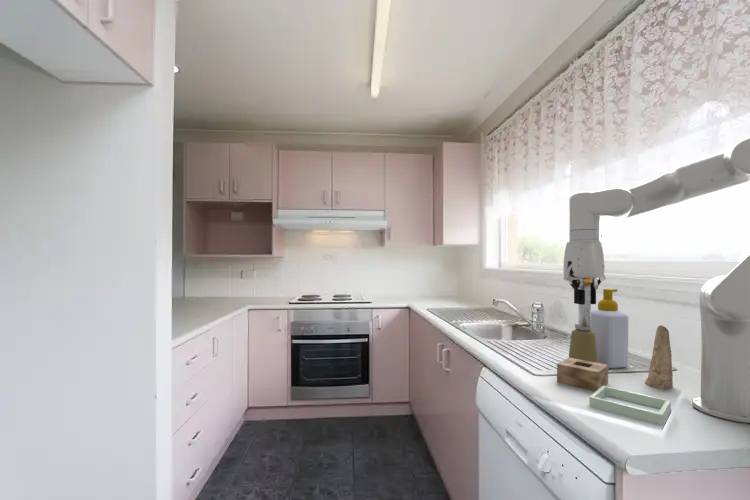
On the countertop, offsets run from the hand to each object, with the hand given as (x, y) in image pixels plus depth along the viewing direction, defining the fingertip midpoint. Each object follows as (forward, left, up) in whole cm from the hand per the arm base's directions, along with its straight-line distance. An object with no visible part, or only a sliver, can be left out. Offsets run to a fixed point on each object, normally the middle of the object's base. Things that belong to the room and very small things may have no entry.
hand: (584, 303), depth 104 cm
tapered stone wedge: (-15, -14, -23) cm, 31 cm away
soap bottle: (+1, -30, -23) cm, 38 cm away
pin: (0, 0, -6) cm, 6 cm away
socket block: (0, 0, -23) cm, 23 cm away
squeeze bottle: (+5, -18, -23) cm, 30 cm away
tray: (-13, +11, -23) cm, 28 cm away
